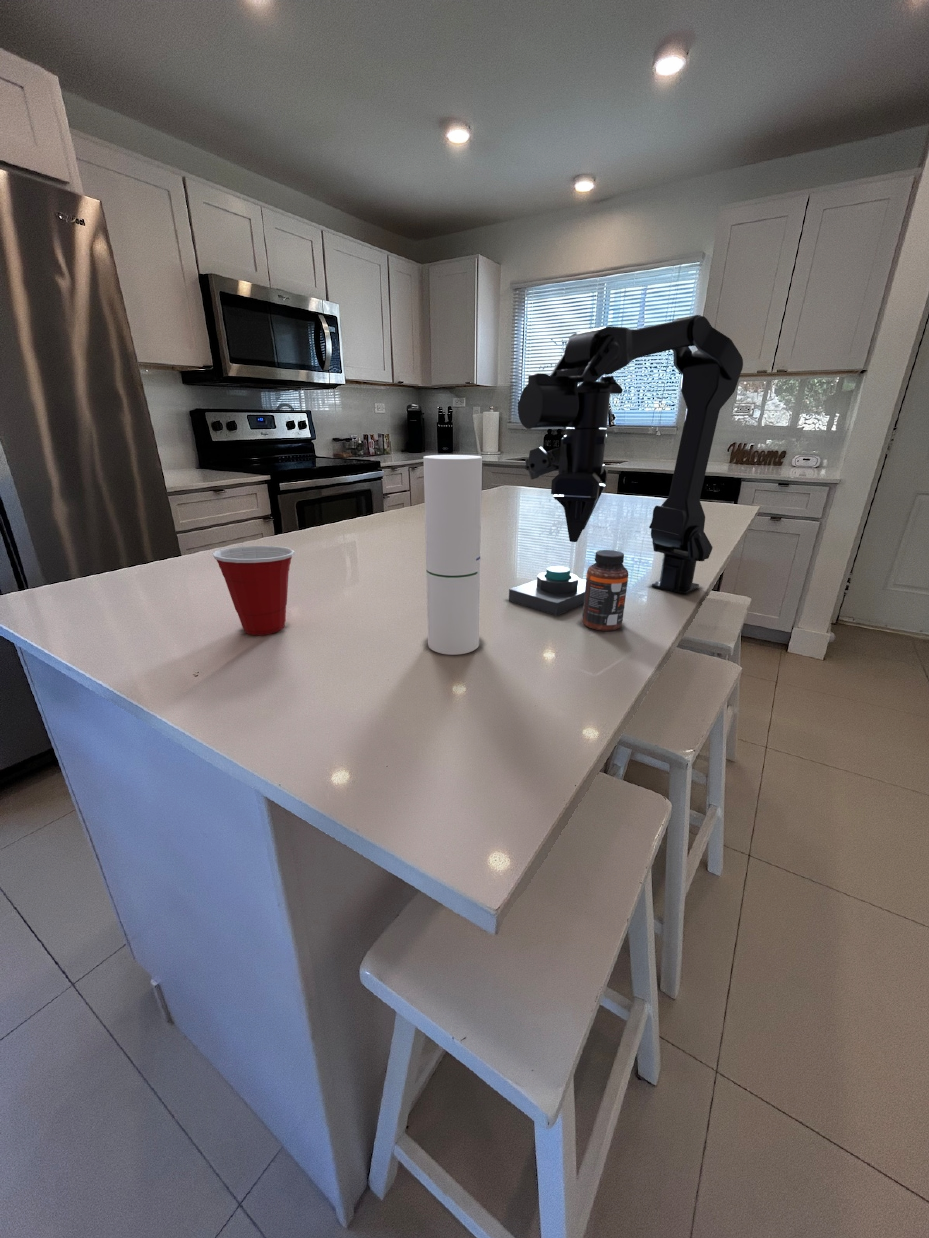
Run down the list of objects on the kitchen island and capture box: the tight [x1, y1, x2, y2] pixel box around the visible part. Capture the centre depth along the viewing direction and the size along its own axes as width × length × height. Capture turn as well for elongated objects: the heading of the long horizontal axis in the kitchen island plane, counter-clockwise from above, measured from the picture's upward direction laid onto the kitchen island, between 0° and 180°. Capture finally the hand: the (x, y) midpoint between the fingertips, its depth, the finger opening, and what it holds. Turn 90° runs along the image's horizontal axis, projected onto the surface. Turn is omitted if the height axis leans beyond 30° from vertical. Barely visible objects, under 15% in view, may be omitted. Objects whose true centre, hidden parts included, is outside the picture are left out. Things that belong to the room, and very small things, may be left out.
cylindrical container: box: [423, 454, 483, 656], centre depth 66 cm, size 7×7×25 cm
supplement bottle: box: [581, 549, 629, 632], centre depth 76 cm, size 6×6×11 cm
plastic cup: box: [212, 545, 296, 636], centre depth 74 cm, size 11×11×12 cm
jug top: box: [508, 571, 586, 617], centre depth 88 cm, size 14×10×4 cm
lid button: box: [545, 565, 571, 581], centre depth 87 cm, size 4×4×2 cm
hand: (577, 535), depth 79 cm, fingers open, 9 cm apart
